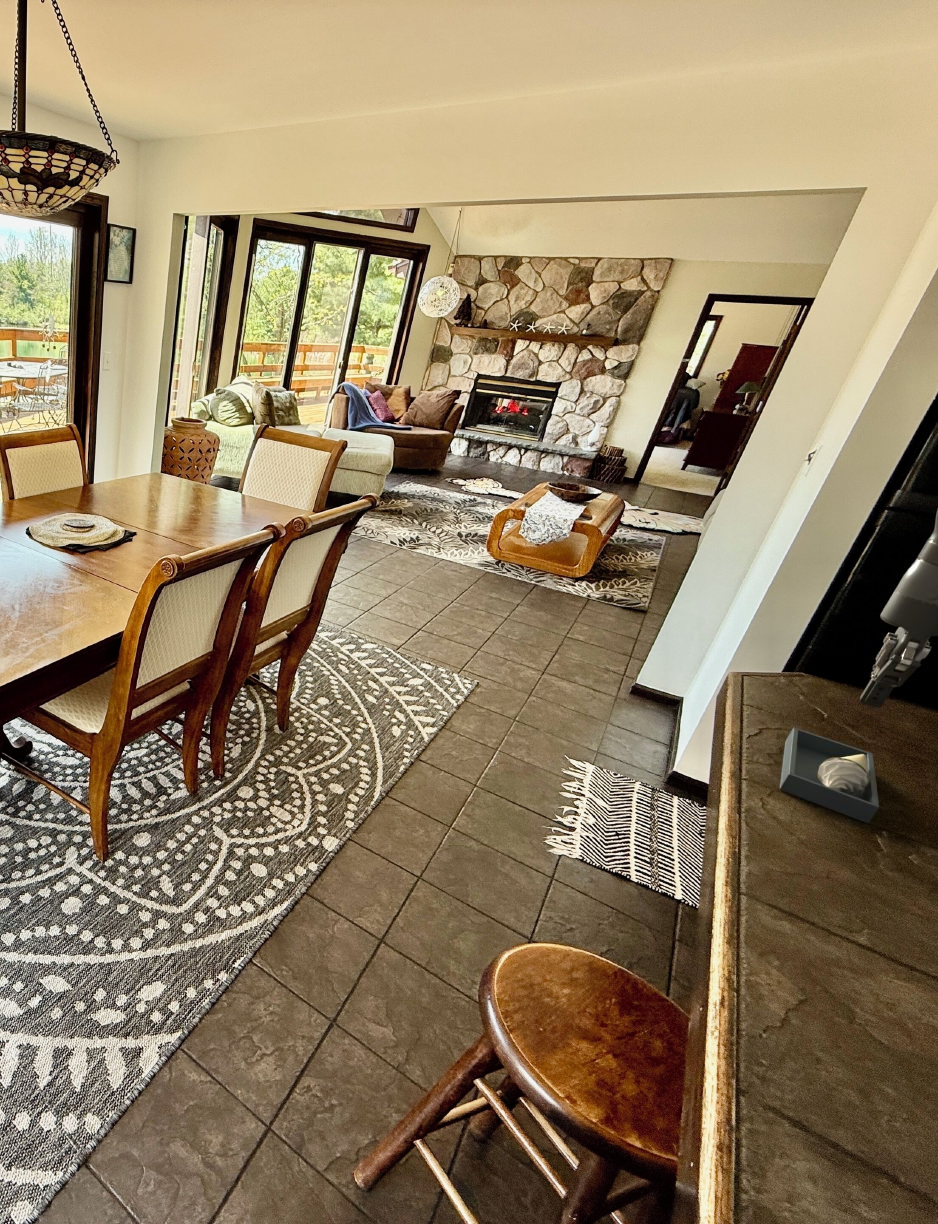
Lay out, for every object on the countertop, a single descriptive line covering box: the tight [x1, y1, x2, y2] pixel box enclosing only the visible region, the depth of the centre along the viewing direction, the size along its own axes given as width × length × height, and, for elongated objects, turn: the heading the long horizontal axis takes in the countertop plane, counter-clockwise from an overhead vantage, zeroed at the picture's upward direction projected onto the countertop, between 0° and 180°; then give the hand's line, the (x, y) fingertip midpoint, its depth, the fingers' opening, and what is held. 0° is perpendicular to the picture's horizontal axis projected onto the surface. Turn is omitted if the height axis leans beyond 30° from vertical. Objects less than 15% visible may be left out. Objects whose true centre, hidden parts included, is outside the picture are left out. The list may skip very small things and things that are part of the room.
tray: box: [779, 727, 880, 824], centre depth 98 cm, size 20×9×3 cm, turn 133°
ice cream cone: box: [818, 754, 870, 793], centre depth 95 cm, size 5×5×15 cm
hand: (869, 704), depth 94 cm, fingers closed
